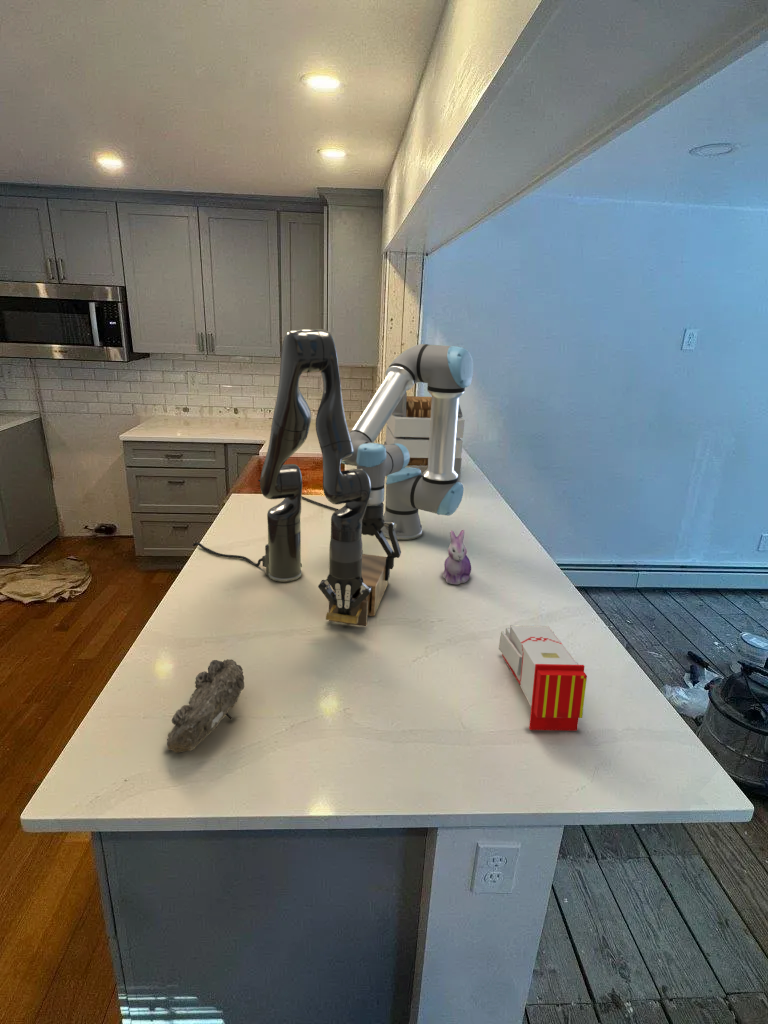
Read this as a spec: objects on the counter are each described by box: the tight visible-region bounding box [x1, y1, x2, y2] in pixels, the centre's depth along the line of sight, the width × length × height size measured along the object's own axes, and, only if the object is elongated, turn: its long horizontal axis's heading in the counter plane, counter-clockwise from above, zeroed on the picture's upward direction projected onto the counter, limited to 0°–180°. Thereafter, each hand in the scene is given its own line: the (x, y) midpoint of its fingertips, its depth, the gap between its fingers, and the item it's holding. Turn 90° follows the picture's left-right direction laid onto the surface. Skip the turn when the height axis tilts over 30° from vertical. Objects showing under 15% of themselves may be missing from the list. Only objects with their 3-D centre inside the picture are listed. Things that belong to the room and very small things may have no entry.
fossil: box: [166, 658, 245, 754], centre depth 106 cm, size 22×10×15 cm
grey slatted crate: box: [383, 391, 465, 483], centre depth 268 cm, size 34×33×41 cm
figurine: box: [442, 529, 472, 585], centre depth 166 cm, size 9×10×15 cm
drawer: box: [325, 588, 372, 627], centre depth 144 cm, size 24×10×7 cm, turn 169°
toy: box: [498, 624, 588, 732], centre depth 119 cm, size 12×13×30 cm
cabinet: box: [333, 553, 389, 617], centre depth 154 cm, size 19×11×9 cm, turn 169°
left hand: (344, 619), depth 136 cm, fingers closed
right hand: (367, 576), depth 159 cm, fingers closed on cabinet, 11 cm apart
